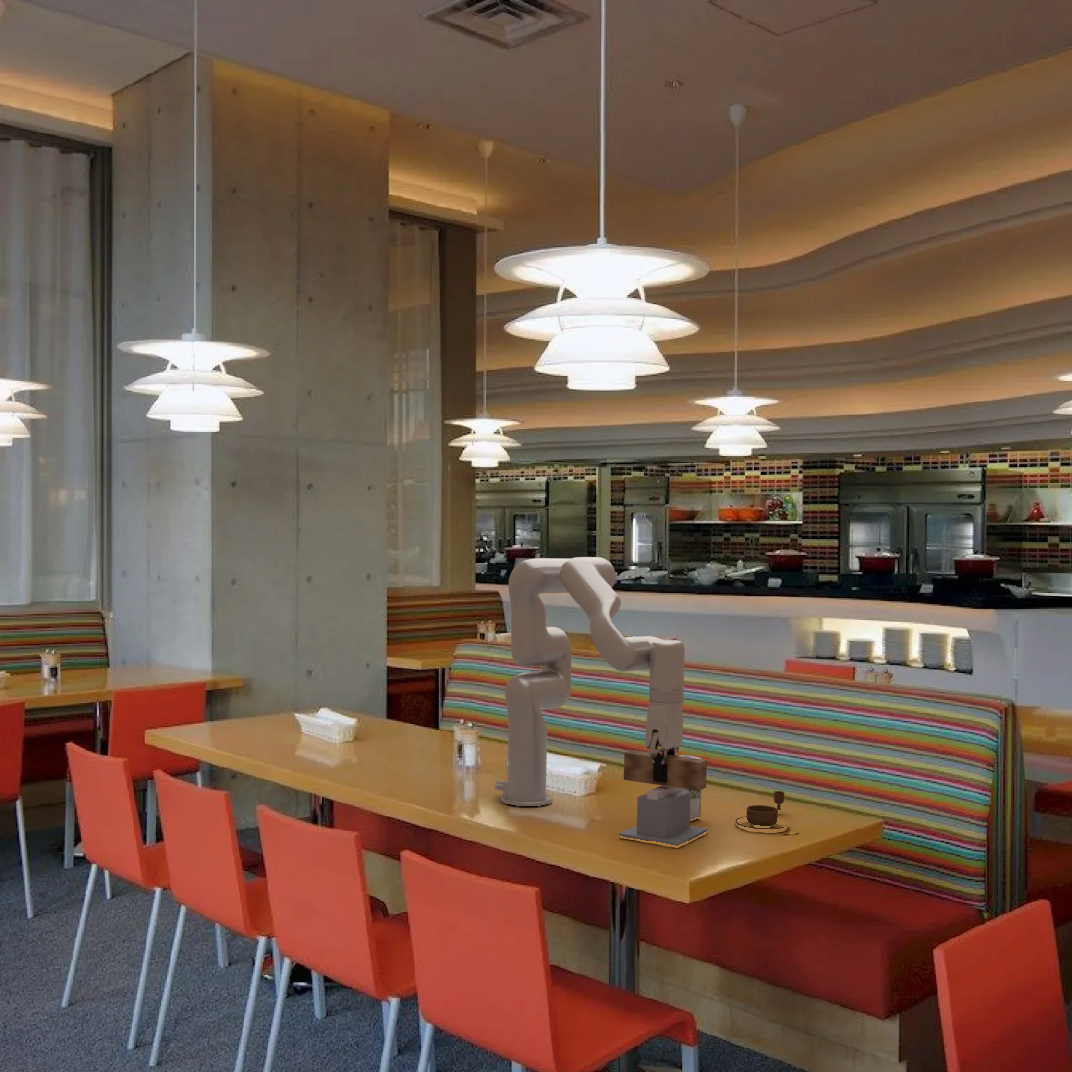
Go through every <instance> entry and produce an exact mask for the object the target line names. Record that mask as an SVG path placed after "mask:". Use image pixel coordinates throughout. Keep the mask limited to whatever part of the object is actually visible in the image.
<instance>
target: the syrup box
mask: <svg viewBox="0 0 1072 1072" xmlns="http://www.w3.org/2000/svg"><path fill="white" fill-rule="evenodd" d="M680 756H681V757H688V758H696V759H702V758H701V757H697V756H694V755H687V754H682V755H680ZM681 791H688V792H691V795H690V820H691V819H694V818H697V817H700V818H701V807H702V806H701V804H702V790H699V791H696V790H689V789H683V788H681Z"/></svg>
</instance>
